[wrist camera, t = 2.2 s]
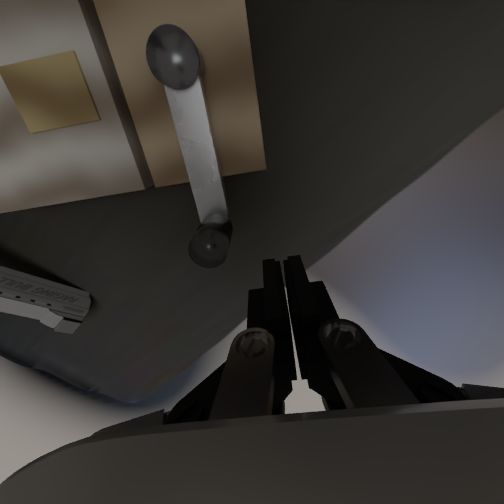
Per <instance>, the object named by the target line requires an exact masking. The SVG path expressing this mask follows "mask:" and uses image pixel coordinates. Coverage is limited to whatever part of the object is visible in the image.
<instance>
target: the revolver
mask: <svg viewBox="0 0 504 504" xmlns="http://www.w3.org/2000/svg"><path fill="white" fill-rule="evenodd" d="M90 305H91V299H90V293H88V292H87V291H84V290H81V289H78V288H74V287H71V286H68V285H64V284H61V283H58V282H54V281H51V280H48V279H44V278H41V277H38V276H34V275H31V274H28V273H24V272H21V271H18V270H14V269H11V268H8V267H4V266H1V265H0V312H5V313H10V314H14V315H19V316H24V317H29V318H33V319H38V320H40V322H41V323H43V324H45V325H47V326H49V327H52V328H54V331H57V332H63V333H69V334H72V333H73V332H74V331H75V330H76V329H77V328H78V326H79V325H80V324H81V323H82V322H83V320H84V319H85V317H86V316H87V314H88V312H89V309H90Z"/></svg>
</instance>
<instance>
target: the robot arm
mask: <svg viewBox="0 0 504 504" xmlns="http://www.w3.org/2000/svg"><path fill="white" fill-rule="evenodd" d="M287 258H288V260H283V263H284V272H285V280H286V288H287V297H288V305H289V311H288V306H287V300H286V294H285V289H284V283H283V278H282V272H281V266H280V261H275V259H266V260H263V279H264V288H260V289H252V290H249V296H248V316H247V330H244V331H242V332H240V333H239V334H238V335H237V336H236V337H235V338H234V340H233V342H232V344H231V347H230V351H229V354H228V357H227V360H226V362H225V363H223V364H222V365H221V366H220V367H219V368H217V369H216V370H215V371H214V372H213V373H212V374H210V375H209V376H208V377H207V378H206V379H205V380H203V381H202V382H201V383H200V384H199V385H198V386H196V387H195V388H194V389H193V390H192V391H191V392H189V393H188V394H187V395H186V396H185V397H184V398H182V399H181V400H180V401H179V402H178V403H177V404H176V405H175V406H174V408H173V409H172V410H171V411H169V412H165V410H164V409H162V410H160V411H156V412H153V413H150V414H147V415H144V416H141V417H138V418H134V419H131V420H128V421H125V422H122V423H119V424H116V425H112V426H110V427H106V428H103V429H101V430H99V431H97V432H95V433H94V434H93V435H91V436H90V437H87V438H84V439H81V440H78V441H75V442H72V443H69V444H67V445H64V446H62V447H60V448H58V449H56V450H54V451H52V452H49V453H47V454H45V455H43V456H41V457H39V458H37V459H36V460H34V461H32V462H30V463H28V464H27V465H26V466H24V467H22V468H21V469H19V470H18V471H16V472H15V473H13V474H12V475H11V476H9V477H8V478H7V479H6V480H5V481H3V482H2V483H1V484H0V504H504V388H498V387H489V386H479V385H471V384H462V387H461V388H460V387H456V386H454V385H453V384H452V383H450V382H448V381H446V380H445V379H443V378H441V377H439V376H437V375H434V374H432V373H430V372H428V371H426V370H424V369H422V368H419V367H417V366H415V365H413V364H411V363H408V362H407V361H404V360H402V359H400V358H397V357H396V356H394V355H392V354H389V353H387V352H385V351H383V350H381V349H379V348H377V347H376V345H375V344H374V343H373V341H372V340H371V339H370V338H369V336H368V335H367V334H366V332H365V331H364V330H363V329H362V328H361V327H360V326H359V325H358V324H356V323H354V322H352V321H349V320H346V319H339V316H338V314H337V312H336V310H335V308H334V305H333V303H332V301H331V299H330V296H329V294H328V292H327V290H326V287H325V285H324V283H323V281H316V282H309V280H308V278H307V274H306V272H305V269H304V266H303V263H302V260H301V257H300V255H296V256H289V257H287ZM289 312H290V318H291V324H292V329H293V335H294V340H295V346H296V351H297V357H298V362H299V368H300V372H301V378H302V379H307V380H308V385H309V388H310V389H312V390H314V391H315V392H317V393H318V394H320V395H321V396H322V401H323V404H324V407H325V410H326V411H318V412H306V413H293V414H285V402H284V400H285V399H286V397H287V396H288V395H289V394H290V393H291V392H292V382H291V380H297V375H296V367H295V358H294V350H293V342H292V333H291V325H290V318H289Z"/></svg>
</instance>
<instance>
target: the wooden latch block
mask: <svg viewBox="0 0 504 504" xmlns="http://www.w3.org/2000/svg"><path fill="white" fill-rule="evenodd" d="M163 24H173V25H176V26H178V27H180V28H181V29H183V30H184V31H185V32H186V33H187V34H188V35H189V36H190V38H191V39H192V40H193V42H194V43H195V44H196V46H197V47H198V49H199V50H200V52H201V54H202V56H203V58H204V62H205V75H204V79H203V86H204V90H205V95H206V100H207V105H208V109H209V114H210V119H211V124H212V129H213V133H214V138H215V143H216V148H217V152H218V157H219V162H220V167H221V172H222V176H229V175H235V174H241V173H247V172H253V171H259V170H265V169H266V162H265V154H264V146H263V138H262V131H261V123H260V115H259V107H258V100H257V92H256V84H255V77H254V69H253V61H252V53H251V46H250V38H249V30H248V22H247V15H246V7H245V0H0V213H5V212H11V211H17V210H23V209H29V208H35V207H41V206H47V205H53V204H59V203H65V202H71V201H77V200H83V199H90V198H96V197H102V196H108V195H114V194H120V193H126V192H132V191H138V190H144V189H147V188H148V187H150V186H152V185H154V184H155V187H162V186H168V185H174V184H180V183H186V182H190V180H189V177H188V173H187V169H186V166H185V162H184V158H183V154H182V151H181V147H180V143H179V140H178V136H177V132H176V128H175V125H174V121H173V117H172V114H171V110H170V106H169V103H168V99H167V95H166V91H165V88H164V85H163V84H162V83H160V82H159V81H158V80H157V79H156V78H155V77H154V75H153V74H152V72H151V70H150V68H149V66H148V63H147V59H146V44H147V41H148V38H149V36H150V34H151V33H152V31H153V30H154V29H155V28H157V27H158V26H160V25H163Z"/></svg>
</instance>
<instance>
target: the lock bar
mask: <svg viewBox="0 0 504 504" xmlns="http://www.w3.org/2000/svg"><path fill="white" fill-rule="evenodd" d="M146 59H147V63H148V66H149V68H150V70H151V72H152V74H153V75H154V77H155V78H156V79H157V80H158V81H159V82H160V83H162V84H163V85H164V88H165V91H166V95H167V99H168V103H169V106H170V110H171V114H172V117H173V121H174V125H175V128H176V132H177V136H178V140H179V143H180V147H181V151H182V154H183V158H184V162H185V166H186V169H187V173H188V177H189V180H190V184H191V188H192V192H193V195H194V199H195V203H196V206H197V210H198V214H199V217H200V221H201V224H200V226H199V228H198V229H197V231H196V233H195V234H194V236H193V238H192V240H191V241H190V243H189V247H188V252H189V255H190V257H191V259H192V260H193V261H194V262H195V263H196V264H198V265H199V266H202V267H205V268H214V267H217V266H219V265H221V264H222V263H223V262H224V261H225V259H226V257H227V253H228V249H229V245H230V240H231V236H232V232H233V227H232V219H231V215H230V210H229V205H228V200H227V196H226V191H225V186H224V181H223V176H222V172H221V167H220V162H219V157H218V152H217V148H216V143H215V138H214V133H213V129H212V124H211V119H210V114H209V109H208V105H207V100H206V95H205V90H204V86H203V79H204V75H205V62H204V58H203V56H202V54H201V52H200V50H199V49H198V47H197V46H196V44H195V43H194V42H193V40H192V39H191V38H190V36H189V35H188V34H187V33H186V32H185V31H184V30H183V29H181V28H180V27H178V26H176V25H173V24H163V25H160V26H158V27H157V28H155V29H154V30H153V31H152V33H151V34H150V36H149V38H148V41H147V44H146Z"/></svg>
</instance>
